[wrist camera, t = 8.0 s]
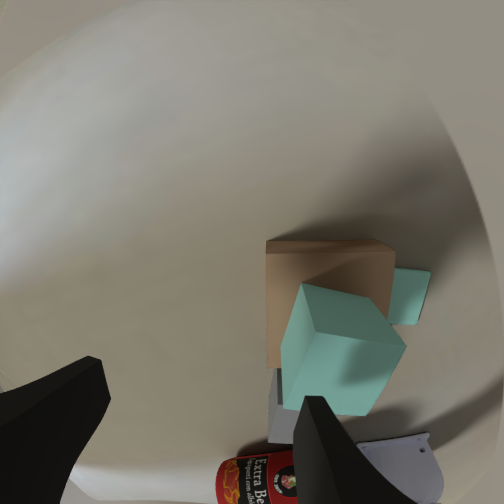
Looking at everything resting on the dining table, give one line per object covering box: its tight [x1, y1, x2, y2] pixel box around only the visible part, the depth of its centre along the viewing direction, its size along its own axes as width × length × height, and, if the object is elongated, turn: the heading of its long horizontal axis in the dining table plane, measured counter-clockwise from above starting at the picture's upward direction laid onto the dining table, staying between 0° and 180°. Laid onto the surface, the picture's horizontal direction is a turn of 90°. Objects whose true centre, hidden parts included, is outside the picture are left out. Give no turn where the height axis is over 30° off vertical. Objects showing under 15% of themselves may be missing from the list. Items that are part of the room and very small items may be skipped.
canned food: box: [216, 449, 298, 504], centre depth 18 cm, size 8×8×11 cm
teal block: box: [280, 283, 407, 416], centre depth 12 cm, size 4×4×5 cm
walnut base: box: [266, 240, 396, 368], centre depth 16 cm, size 7×7×4 cm
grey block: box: [268, 368, 340, 444], centre depth 17 cm, size 4×4×5 cm
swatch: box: [387, 267, 431, 325], centre depth 17 cm, size 4×4×1 cm
